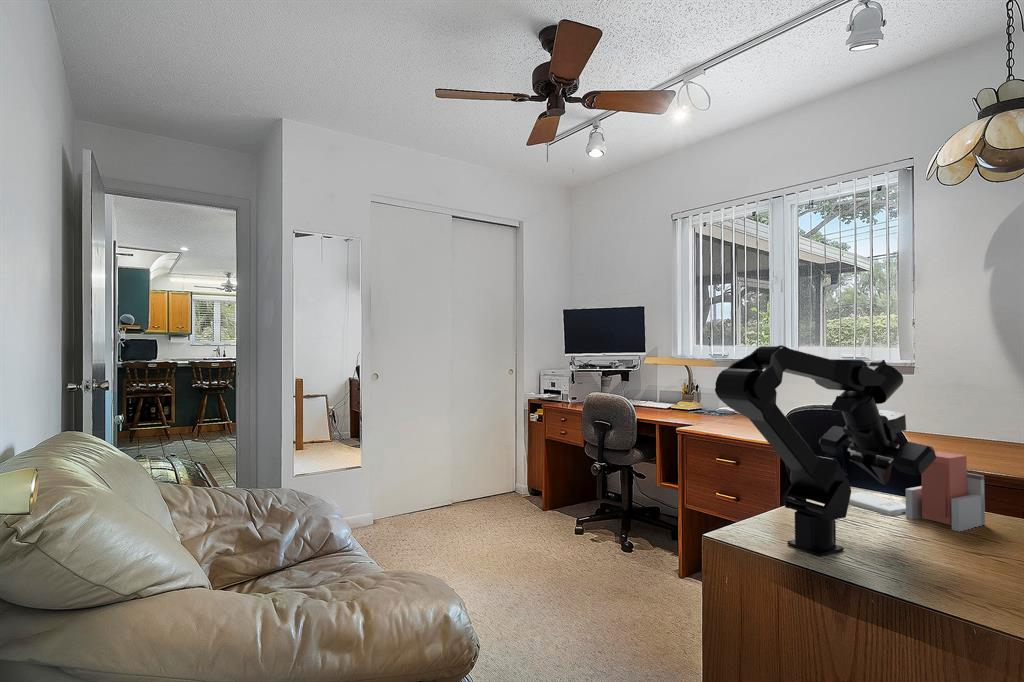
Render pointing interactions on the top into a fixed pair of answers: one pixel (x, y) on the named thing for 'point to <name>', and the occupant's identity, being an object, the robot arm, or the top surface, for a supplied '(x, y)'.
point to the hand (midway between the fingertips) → (885, 482)
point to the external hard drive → (877, 504)
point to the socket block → (955, 504)
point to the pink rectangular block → (943, 485)
